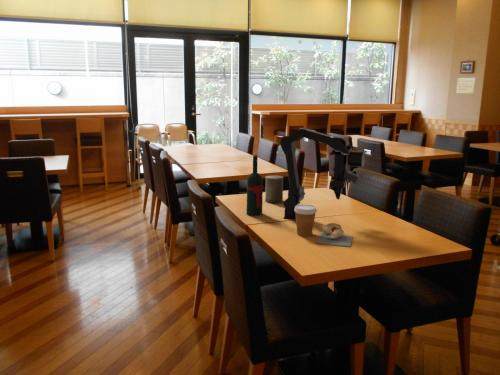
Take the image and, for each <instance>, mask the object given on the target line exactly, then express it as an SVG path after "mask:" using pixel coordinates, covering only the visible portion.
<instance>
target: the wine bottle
mask: <svg viewBox="0 0 500 375" xmlns="http://www.w3.org/2000/svg"><path fill="white" fill-rule="evenodd" d="M252 155H253V156H252V172H251V173H250V174H248V176H247V178H246V215H247V216H249V217H260V216H262V215H263V192H264V191H263V187H264V186H263V181H264V180H263V179H264V178H263V176H262V175H261V174H260V173H258V159H259V158H258V153H256V152H255V153H253V154H252Z"/></svg>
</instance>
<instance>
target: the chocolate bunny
mask: <svg viewBox="0 0 500 375" xmlns="http://www.w3.org/2000/svg"><path fill="white" fill-rule="evenodd" d="M322 231H323V232H324V233H327V234H329V235H328V237H329V238H331V239H338V238H340V237H341V236H342V235H344V230H343V229H342V225H341V224H339V223H335V222H333V223H332V222H331V223H327V224H325V225H324V227H323V228H322Z"/></svg>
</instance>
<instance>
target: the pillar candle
mask: <svg viewBox="0 0 500 375" xmlns="http://www.w3.org/2000/svg"><path fill="white" fill-rule="evenodd" d="M264 191H265V192H264V193H265V197H264V200H265V201H264V202H266V203H269V204H279V203H283V202H284V199H283V196H284V176H282V175H275V174H274V175H266V176H265V190H264Z"/></svg>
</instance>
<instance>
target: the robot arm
mask: <svg viewBox="0 0 500 375" xmlns="http://www.w3.org/2000/svg"><path fill="white" fill-rule="evenodd" d="M303 138H304V139H307V140H312V141H314V142H318V143H322V144H325V145H327V146H328V147H330V148H332V151H331V152H329V155H330V156H333V167H332V177H331V178H332V180H330V182H329V188H332V190H333V193H334V195H335V198H336V200H340V198H341V195H342V191H343V189H344V188H346V185H347V182H348V181H350V182H352V183H353V184H357V182H358V180H359V177H360V174H358V171H357V170H355V169H354V170H352V171H350V170H348V169H349V168H348V166H347V165H349V167H355V168H363V167H364V166H365V163H366V161H365V160H366V158H365V151H355V150H354V149H353V148H352V146H351V145H350V140H349V138H348V137H346V136H343V135H342V136H341V135H340V136H339V135H329V134H325V133H323V132H319V131H315V130H311V129H309V128H306V127H302V128H299V129H297V130H296V131H295V132H293V133H291V134H289V135H284V136H282V137H281V138H280V141H279V143H280V147H281V151H282V152H283V154H284V156H285V162H286V168H287V169H286V170H287V175H288V177H287V178H288V182H289V185H288V186H289V187H288V190H287V191H288V192H287V198H286V199H285V200H283V202H282V204H283V207H284V216H283V219H286V220H287V219H288V220H296V215H295V211H294V209H295V206H296V205H301V204H300V203H301V201H303V200H304V198H305V196H306V193H305V186H301V184H300V180H299V172H298V165H297V159H296V152H297V148H298V147H297V146H298V145H297V144H298V142H299V141H301V140H302V139H303Z"/></svg>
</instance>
